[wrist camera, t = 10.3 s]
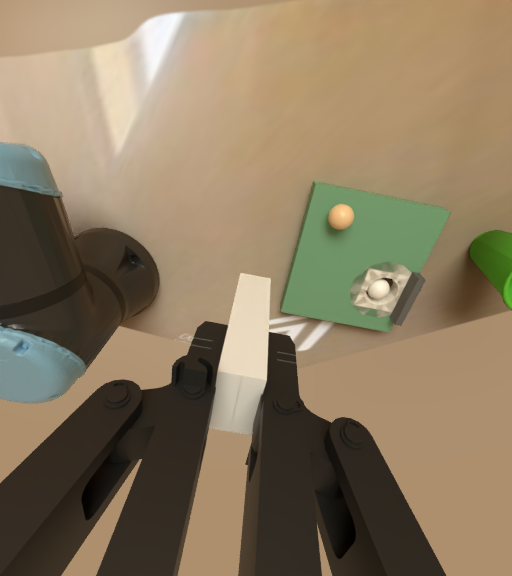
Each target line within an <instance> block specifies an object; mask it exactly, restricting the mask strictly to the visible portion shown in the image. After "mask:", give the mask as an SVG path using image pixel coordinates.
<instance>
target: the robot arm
mask: <svg viewBox="0 0 512 576" xmlns="http://www.w3.org/2000/svg"><path fill="white" fill-rule="evenodd" d="M61 197H63V195H62V193H61V192H60V191H59V190H58V188H57V185H56V183H55V180H54V178H53V175H52V173H51V170H50V167H49V165H48V162H47V161H46V159H45V158H44V156H43V155H42V154H41V153H40V152H38V151H37V150H36V149H34V148H32V147H30V146H27V145H24V144H16V143H3V142H0V398H1V399H4V400H8V401H13V402H19V403H43V402H48V401H51V400H54V399H56V398H58V397H60V396H62V395H63V394H64V393H66V392H67V391H68V390H69V389H70V387H71V386H72V385H73V384H74V383H75V382H76V380H77V379H78V378H80V377H81V376H82V375H84V374H85V372H86V370H87V368H88V367H89V365H90V364H91V363H92V362H93V360H94V359H95V358H96V356H97V355H98V353H99V352H100V351H101V349H102V348H103V347H104V345H105V344H106V343H107V341H108V340H109V339H110V337H111V336H112V335H113V333H114V332H115V330H116V329H117V328H118V326H119V325H120V324H121V323H122V322H124V321H125V320H126V319H128V318H130V317H132V316H135V315H137V314H139V313H140V312H142V311H143V310H144V309H146V308H147V307H148V305H149V304H150V303H151V301H152V300H153V299H154V297H155V295H156V293H157V291H158V287H159V274H158V269H157V266H156V264H155V262H154V260H153V258H152V257H151V255H150V254H149V252H148V251H147V250H146V249H145V248H144V247H143V246H142V245H141V244H140V243H139V242H138V241H136V240H135V239H133V238H132V237H130V236H128V235H126V234H124V233H122V232H120V231H117V230H113V229H108V228H94V229H89V230H86V231H84V232H82V233H80V234H78V235H77V236H75V237H74V236H73V233H72V230H71V227H70V223H69V220H68V217H67V214H66V211H65V207H64V204H63V201H62V198H61ZM270 282H271V279H270V278H264V277H259V276H254V275H249V274H243V273H241V274H240V278H239V282H238V287H237V291H236V295H235V299H234V303H233V308H232V312H231V316H230V320H229V325H224V324H218V323H213V322H208V321H205V322H204V323H203V324H201V325H200V326H199V327H198V328H197V330H196V333H195V336H194V338H193V341H192V343H191V346H190V349H189V352H188V354H187V355H186V356H183V357H181V358H179V359H178V360H176V362H175V363H174V365H173V366H172V382H171V383H170V384H169V385H166V386H164V387H161V388H156V389H146V390H141V389H140V387H139V385H137V384H136V383H134V382H133V381H129V380H114V381H111V382H109V383H106V384H104V385H103V386H101V387H100V388H99V389H97V390H96V391H95V392H94V393H93V394H92V395H91V396H90V397H89V398H88V399H87V400H86V401H85V402H84V403H83V404H82V405H81V406H80V407H79V408H78V409H77V410H75V412H73V413H72V414H71V415H70V416H69V417H68V418H67V419H66V420H65V421H64V422H63V423H62V424H61V425H60V426H59V427H58V428H57V429H56V430H55V431H54V432H53V433H52V434H51V435H50V436H49V437H48V438H47V439H46V440H44V442H42V443H41V444H40V446H38V447H37V448H36V449H35V450H34V451H33V452H32V453H31V454H30V455H29V456H28V457H27V458H26V459H25V460H24V461H23V462H22V463H21V464H20V465H19V466H18V467H17V468H16V469H15V470H14V471H13V472H12V473H10V474H9V476H7V477H6V478H5V479H4V480H3V481H2V482H1V483H0V576H61V575H62V573H63V572H64V570H65V569H66V567H67V566H68V564H69V563H70V561H71V560H72V558H73V557H74V555H75V554H76V552H77V551H78V550H79V548H80V547H81V545H82V543H83V542H84V541H85V539H86V538H87V536H88V535H89V533H90V532H91V530H92V529H93V527H94V526H95V524H96V523H97V521H98V520H99V518H100V517H101V516H102V514H103V513H104V511H105V510H106V508H107V507H108V505H109V504H110V502H111V500H112V499H113V498H114V496H115V494H116V493H117V492H118V490H119V489H120V487H121V486H122V484H123V483H124V482H125V480H126V478H127V477H128V475H129V474H130V473H131V471H132V470H133V468H134V467H135V465H136V464H137V462H138V461H139V459H142V461H141V464H140V466H139V469H138V471H137V474H136V477H135V479H134V481H133V484H132V487H131V489H130V492H129V494H128V497H127V499H126V502H125V504H124V507H123V509H122V512H121V514H120V517H119V520H118V522H117V525H116V527H115V530H114V532H113V535H112V537H111V540H110V542H109V545H108V547H107V550H106V553H105V555H104V557H103V560H102V563H101V565H100V568H99V570H98V573H97V575H96V576H177V575H178V570H179V566H180V561H181V557H182V552H183V547H184V543H185V538H186V534H187V529H188V524H189V520H190V514H191V510H192V506H193V501H194V497H195V492H196V487H197V482H198V478H199V473H200V469H201V464H202V460H203V455H204V450H205V446H206V440H207V434H208V430H209V428H212V429H218V430H224V431H229V432H235V433H241V434H247V435H251V434H252V430H253V434H252V443H251V447H250V450H249V453H248V457H247V460H246V465H248V471H247V481H246V493H245V505H244V516H243V528H242V539H241V551H240V563H239V574H238V576H322V572H321V562H320V553H319V541H318V531H317V524H318V528H319V531H320V534H321V538H322V542H323V545H324V549H325V552H326V555H327V559H328V562H329V566H330V569H331V572H332V576H446V574H445V572H444V571H443V569H442V567H441V565H440V563H439V561H438V559H437V557H436V555H435V553H434V552H433V550H432V548H431V546H430V544H429V542H428V540H427V539H426V537H425V535H424V533H423V531H422V529H421V527H420V525H419V523H418V522H417V520H416V518H415V516H414V514H413V512H412V510H411V509H410V507H409V505H408V503H407V501H406V499H405V498H404V495H403V493H402V492H401V490H400V488H399V486H398V484H397V482H396V480H395V478H394V477H393V475H392V473H391V471H390V469H389V467H388V465H387V463H386V462H385V460H384V458H383V456H382V455H381V453H380V450H379V448H378V447H377V445H376V443H375V441H374V439H373V437H372V436H371V434H370V433H369V431H368V430H367V429H366V428H365V427H364V426H363V425H362V424H360V423H359V422H357V421H355V420H353V419H351V418H345V417H341V418H338V419H335V420H334V421H333V422H332V423H331V422H329V421H327V420H325V419H323V418H320V417H318V416H317V415H315V414H313V413H312V412H310V411H309V410H308V409H307V408H306V407H305V405H304V403H303V401H302V400H301V398H300V396H299V388H298V376H297V364H296V356H295V355H296V352H295V344H294V343H293V341H292V339H291V338H290V336H288V335H282V334H277V333H271V332H269V308H270Z"/></svg>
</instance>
